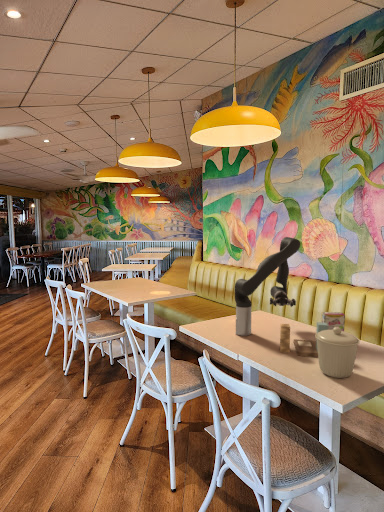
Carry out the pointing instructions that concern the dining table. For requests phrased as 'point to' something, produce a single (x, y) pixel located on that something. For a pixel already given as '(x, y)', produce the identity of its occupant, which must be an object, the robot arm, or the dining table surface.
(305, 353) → the frame base
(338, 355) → the canister
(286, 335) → the oak post
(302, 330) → the dining table surface
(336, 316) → the candy bar box
